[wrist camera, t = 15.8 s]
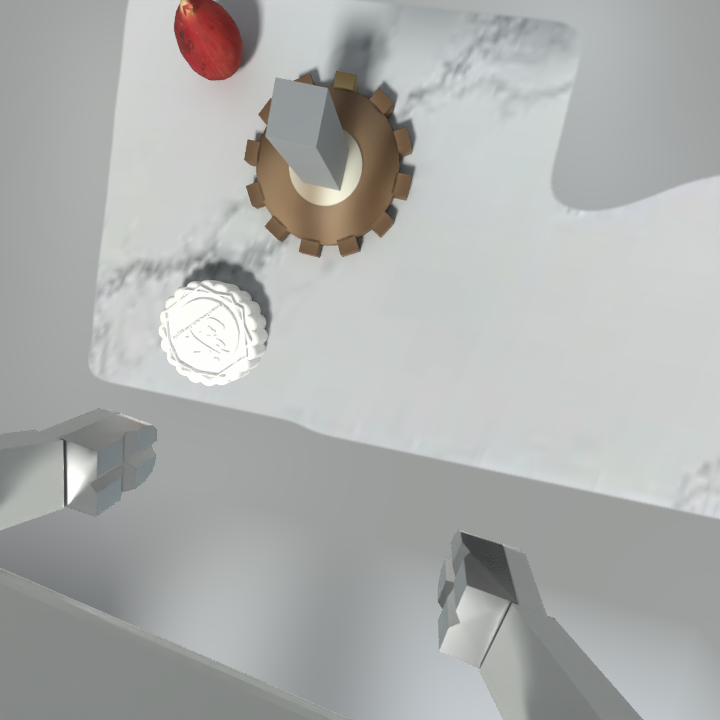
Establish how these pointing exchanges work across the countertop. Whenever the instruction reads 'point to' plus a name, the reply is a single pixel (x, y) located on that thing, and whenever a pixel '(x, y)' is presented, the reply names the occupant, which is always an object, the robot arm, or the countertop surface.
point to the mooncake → (212, 332)
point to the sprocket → (360, 182)
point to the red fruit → (208, 38)
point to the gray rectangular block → (308, 133)
